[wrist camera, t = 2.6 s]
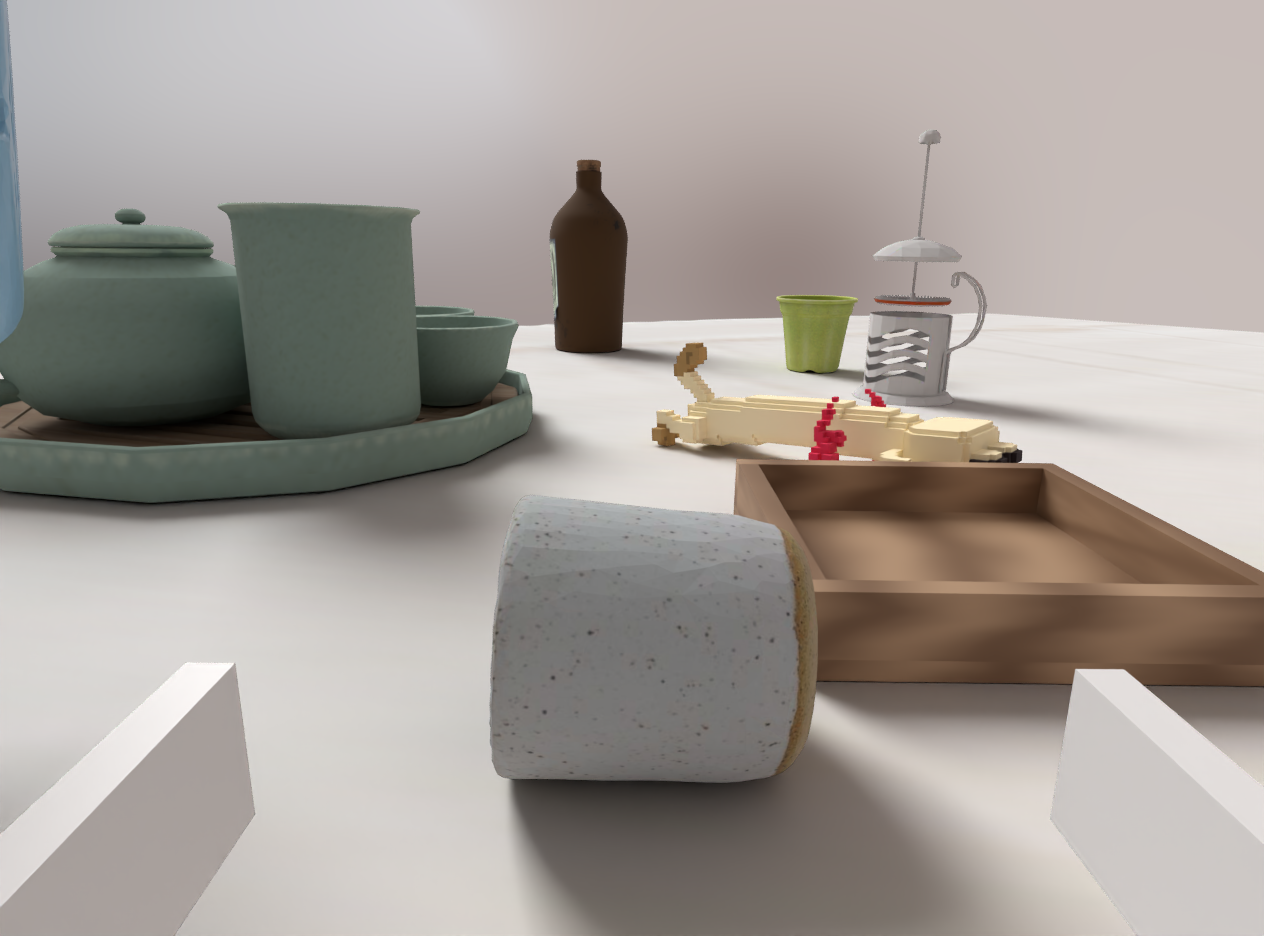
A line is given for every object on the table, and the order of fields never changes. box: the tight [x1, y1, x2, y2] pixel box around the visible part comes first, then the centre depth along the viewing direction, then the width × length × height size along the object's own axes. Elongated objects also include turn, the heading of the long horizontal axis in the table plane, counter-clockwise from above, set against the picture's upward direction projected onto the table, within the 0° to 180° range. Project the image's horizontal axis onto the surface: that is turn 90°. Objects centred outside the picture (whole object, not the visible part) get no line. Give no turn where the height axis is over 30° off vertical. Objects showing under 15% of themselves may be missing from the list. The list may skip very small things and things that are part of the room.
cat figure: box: [652, 343, 1022, 463], centre depth 52 cm, size 10×9×25 cm
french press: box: [852, 130, 987, 406], centre depth 77 cm, size 10×12×25 cm
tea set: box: [0, 203, 533, 503], centre depth 61 cm, size 40×40×16 cm
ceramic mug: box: [489, 495, 818, 783], centre depth 24 cm, size 11×8×8 cm
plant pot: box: [777, 295, 858, 373], centre depth 96 cm, size 9×9×9 cm
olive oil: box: [550, 160, 628, 353], centre depth 110 cm, size 11×11×25 cm
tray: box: [734, 459, 1264, 686], centre depth 35 cm, size 17×17×3 cm
